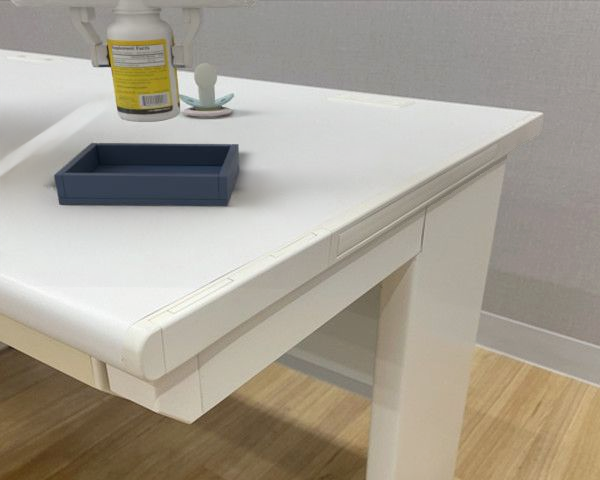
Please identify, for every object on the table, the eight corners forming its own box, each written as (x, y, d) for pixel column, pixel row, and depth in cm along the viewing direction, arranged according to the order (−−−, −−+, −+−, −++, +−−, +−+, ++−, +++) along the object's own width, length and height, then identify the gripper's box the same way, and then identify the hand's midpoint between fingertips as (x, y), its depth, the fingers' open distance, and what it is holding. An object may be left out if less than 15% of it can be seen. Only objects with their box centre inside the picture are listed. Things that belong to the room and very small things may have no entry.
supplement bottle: (141, 107, 59) (128, -10, 54) (192, 112, 57) (183, -9, 52) (104, 120, 54) (86, -7, 50) (158, 125, 52) (144, -6, 48)
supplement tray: (59, 204, 54) (53, 175, 53) (95, 168, 63) (91, 142, 62) (228, 206, 54) (226, 176, 53) (239, 170, 63) (238, 143, 62)
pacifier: (235, 119, 83) (234, 108, 88) (233, 69, 80) (232, 60, 85) (178, 120, 82) (181, 109, 88) (174, 70, 79) (177, 61, 84)
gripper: (-37, -136, 44) (6, 72, 51) (255, -135, 44) (260, 73, 51) (1, -126, 50) (35, 60, 56) (261, -125, 50) (265, 62, 56)
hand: (144, 66), depth 54 cm, fingers closed on supplement bottle, 5 cm apart
